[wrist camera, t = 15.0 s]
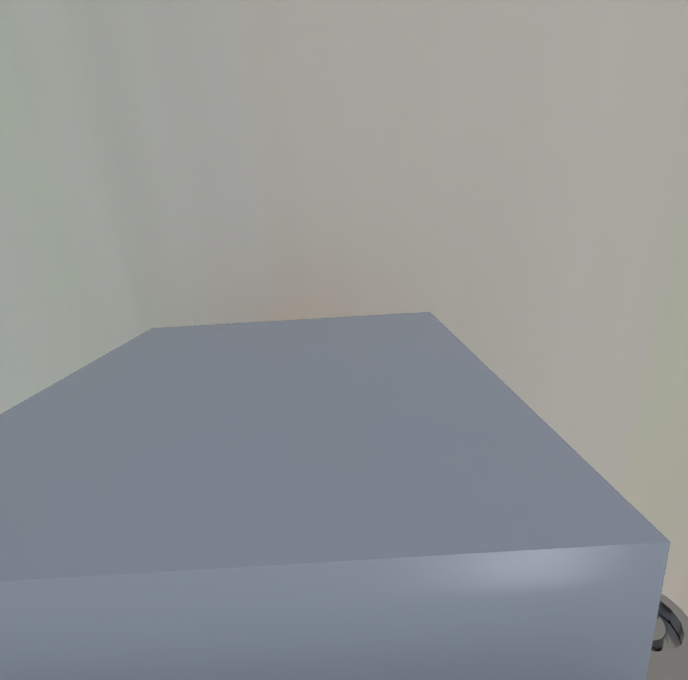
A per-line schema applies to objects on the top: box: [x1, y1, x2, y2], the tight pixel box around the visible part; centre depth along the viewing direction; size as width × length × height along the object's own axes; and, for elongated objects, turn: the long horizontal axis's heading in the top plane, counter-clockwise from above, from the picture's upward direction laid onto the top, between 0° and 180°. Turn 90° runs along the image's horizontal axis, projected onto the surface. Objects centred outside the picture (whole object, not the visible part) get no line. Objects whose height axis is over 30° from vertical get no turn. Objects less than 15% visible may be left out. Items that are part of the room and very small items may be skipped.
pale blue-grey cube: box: [0, 312, 670, 680], centre depth 9 cm, size 8×8×9 cm
